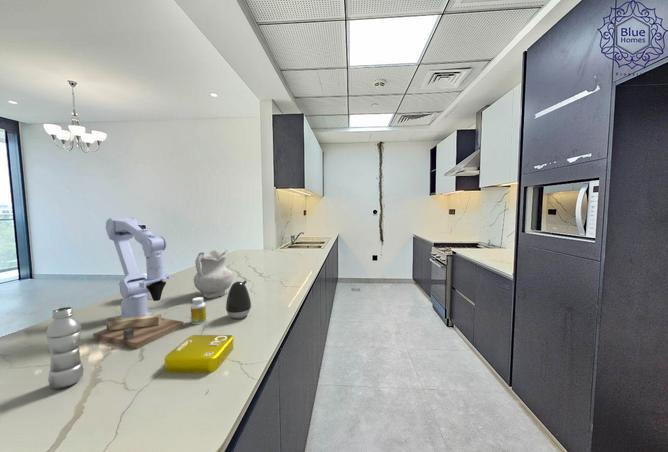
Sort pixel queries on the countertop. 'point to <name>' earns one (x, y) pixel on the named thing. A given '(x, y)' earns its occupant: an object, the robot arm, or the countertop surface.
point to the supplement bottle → (198, 311)
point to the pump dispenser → (238, 300)
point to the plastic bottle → (64, 349)
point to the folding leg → (132, 322)
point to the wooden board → (138, 333)
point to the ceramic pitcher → (212, 274)
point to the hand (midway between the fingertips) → (156, 300)
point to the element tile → (199, 354)
